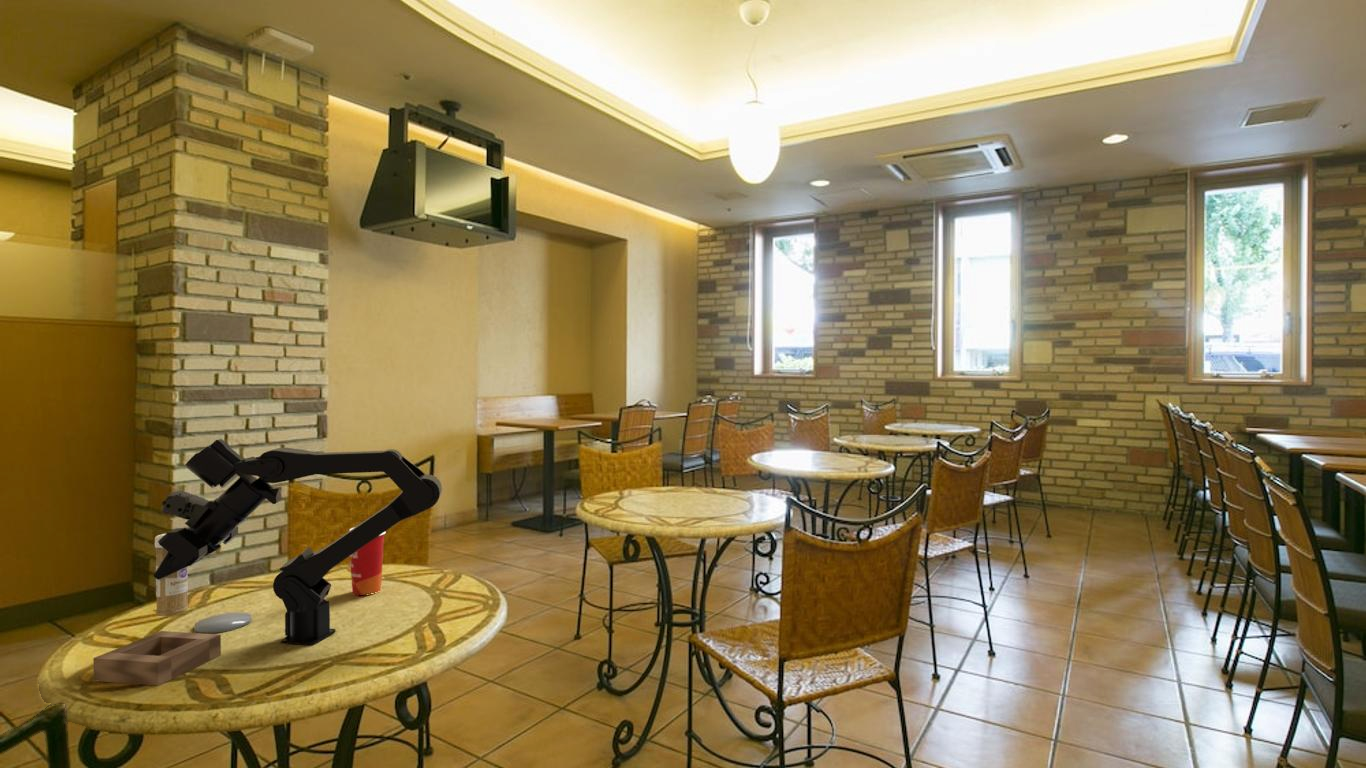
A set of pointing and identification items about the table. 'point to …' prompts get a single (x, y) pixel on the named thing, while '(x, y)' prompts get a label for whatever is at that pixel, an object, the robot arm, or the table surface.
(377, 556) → the paper cup
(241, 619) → the slate coaster
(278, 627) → the table surface
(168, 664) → the walnut caddy
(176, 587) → the sprinkles bottle
